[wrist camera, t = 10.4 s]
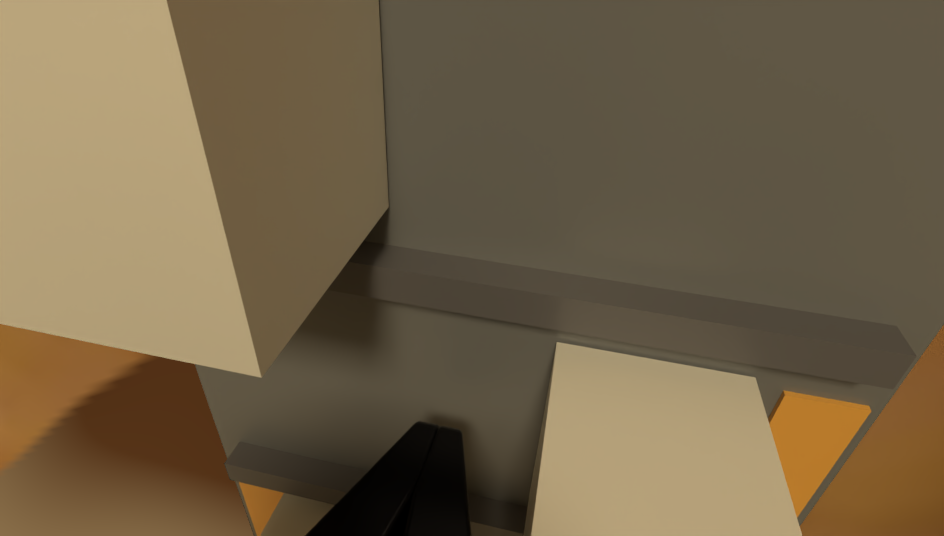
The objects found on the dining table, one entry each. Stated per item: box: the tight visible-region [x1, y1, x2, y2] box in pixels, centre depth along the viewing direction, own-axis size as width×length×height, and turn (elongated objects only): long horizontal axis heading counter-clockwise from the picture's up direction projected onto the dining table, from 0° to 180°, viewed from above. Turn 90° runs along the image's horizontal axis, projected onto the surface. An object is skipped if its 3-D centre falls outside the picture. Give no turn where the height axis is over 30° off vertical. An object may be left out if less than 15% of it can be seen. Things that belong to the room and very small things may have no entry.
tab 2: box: [523, 342, 802, 536], centre depth 8 cm, size 3×4×4 cm
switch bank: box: [195, 0, 944, 536], centre depth 10 cm, size 12×20×2 cm, turn 177°
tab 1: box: [0, 0, 389, 378], centre depth 6 cm, size 3×4×4 cm
